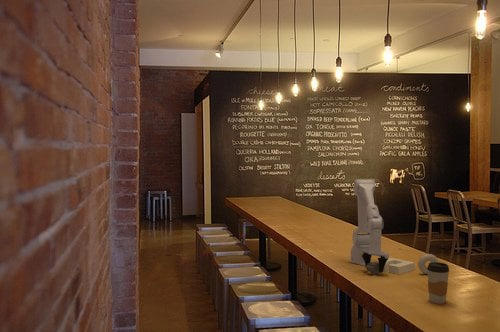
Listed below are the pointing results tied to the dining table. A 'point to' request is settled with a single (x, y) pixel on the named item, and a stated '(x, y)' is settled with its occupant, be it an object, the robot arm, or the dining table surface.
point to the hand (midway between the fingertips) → (374, 270)
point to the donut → (423, 260)
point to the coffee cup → (437, 282)
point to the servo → (373, 268)
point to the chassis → (398, 266)
